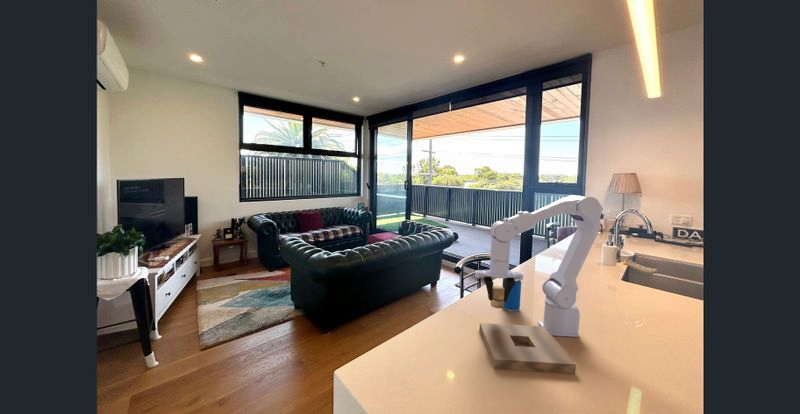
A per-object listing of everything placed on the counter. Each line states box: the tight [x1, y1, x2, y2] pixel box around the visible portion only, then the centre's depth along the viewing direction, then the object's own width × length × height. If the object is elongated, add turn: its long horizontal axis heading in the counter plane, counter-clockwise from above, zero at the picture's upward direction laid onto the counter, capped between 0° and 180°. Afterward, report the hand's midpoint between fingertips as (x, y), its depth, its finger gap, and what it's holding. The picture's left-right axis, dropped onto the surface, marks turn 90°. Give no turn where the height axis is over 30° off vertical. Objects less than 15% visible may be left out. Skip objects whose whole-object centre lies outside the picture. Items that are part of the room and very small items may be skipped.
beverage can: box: [501, 279, 522, 312], centre depth 105 cm, size 6×6×12 cm
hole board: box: [478, 322, 577, 375], centre depth 80 cm, size 20×18×2 cm
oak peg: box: [490, 285, 505, 309], centre depth 91 cm, size 4×4×6 cm
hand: (497, 299), depth 91 cm, fingers closed on oak peg, 4 cm apart
